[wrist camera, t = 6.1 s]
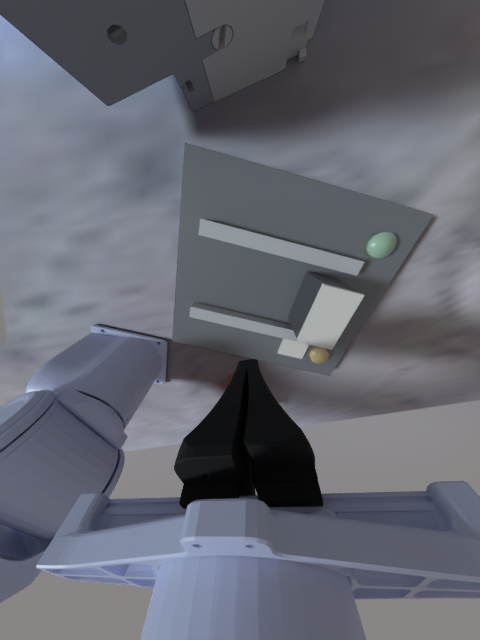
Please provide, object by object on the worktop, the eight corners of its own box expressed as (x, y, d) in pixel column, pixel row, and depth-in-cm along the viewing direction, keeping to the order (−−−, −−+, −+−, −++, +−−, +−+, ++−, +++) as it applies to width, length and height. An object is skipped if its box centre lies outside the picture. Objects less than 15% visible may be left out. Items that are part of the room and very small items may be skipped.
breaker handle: (287, 317, 19) (298, 342, 15) (306, 271, 16) (325, 285, 12) (314, 324, 19) (331, 350, 15) (337, 279, 17) (364, 295, 13)
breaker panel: (176, 334, 22) (168, 347, 20) (191, 150, 14) (179, 135, 12) (325, 367, 24) (333, 383, 21) (417, 215, 15) (448, 213, 13)
